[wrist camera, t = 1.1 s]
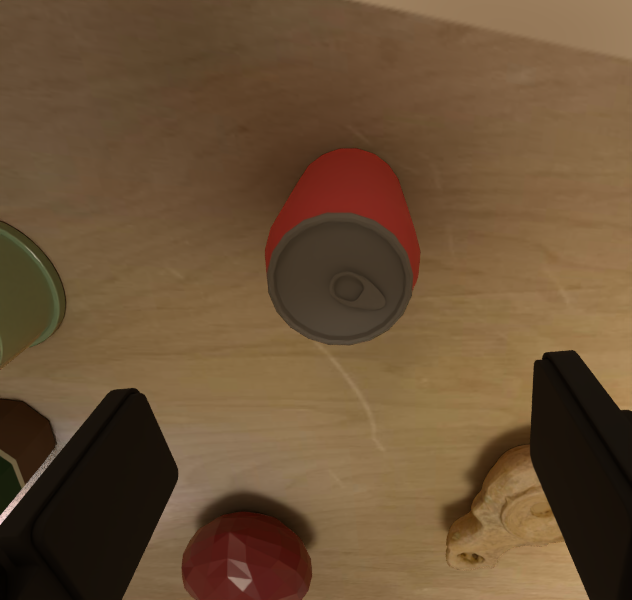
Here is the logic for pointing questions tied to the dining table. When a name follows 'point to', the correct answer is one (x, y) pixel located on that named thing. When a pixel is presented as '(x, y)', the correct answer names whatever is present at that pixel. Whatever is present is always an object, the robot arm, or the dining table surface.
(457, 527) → the oil lamp
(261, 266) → the dining table surface
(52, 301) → the cup stack
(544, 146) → the dining table surface
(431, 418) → the dining table surface
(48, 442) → the beer bottle
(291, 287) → the beer can
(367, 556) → the dining table surface
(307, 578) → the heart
